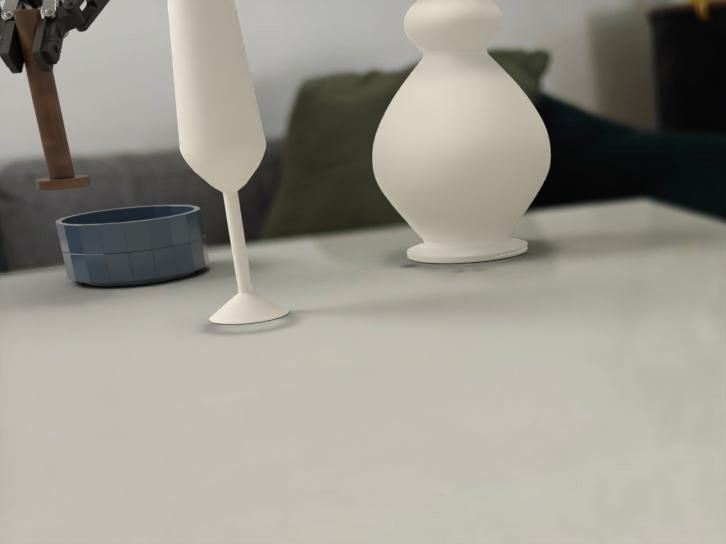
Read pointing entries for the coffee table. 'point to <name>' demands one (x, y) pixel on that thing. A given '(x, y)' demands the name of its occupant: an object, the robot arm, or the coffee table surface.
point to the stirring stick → (47, 111)
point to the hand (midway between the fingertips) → (26, 64)
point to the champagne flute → (219, 126)
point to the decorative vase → (460, 139)
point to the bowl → (133, 245)
